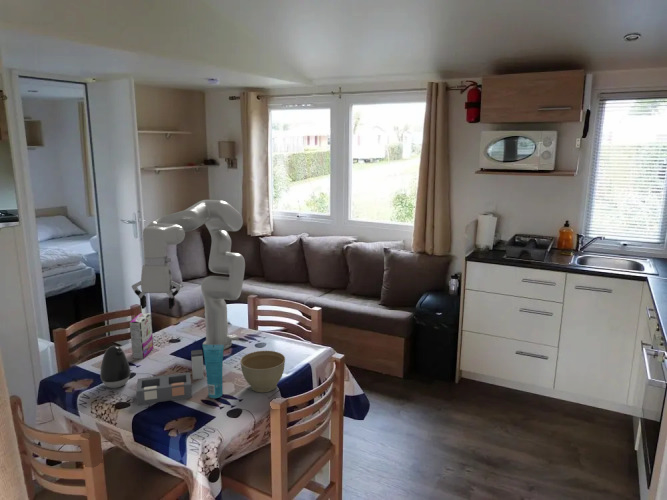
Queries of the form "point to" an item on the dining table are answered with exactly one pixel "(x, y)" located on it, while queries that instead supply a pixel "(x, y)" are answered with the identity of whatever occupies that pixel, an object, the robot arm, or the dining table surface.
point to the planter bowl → (263, 369)
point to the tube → (214, 369)
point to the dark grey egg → (115, 368)
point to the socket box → (163, 388)
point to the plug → (197, 364)
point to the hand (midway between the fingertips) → (157, 307)
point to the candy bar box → (141, 335)
